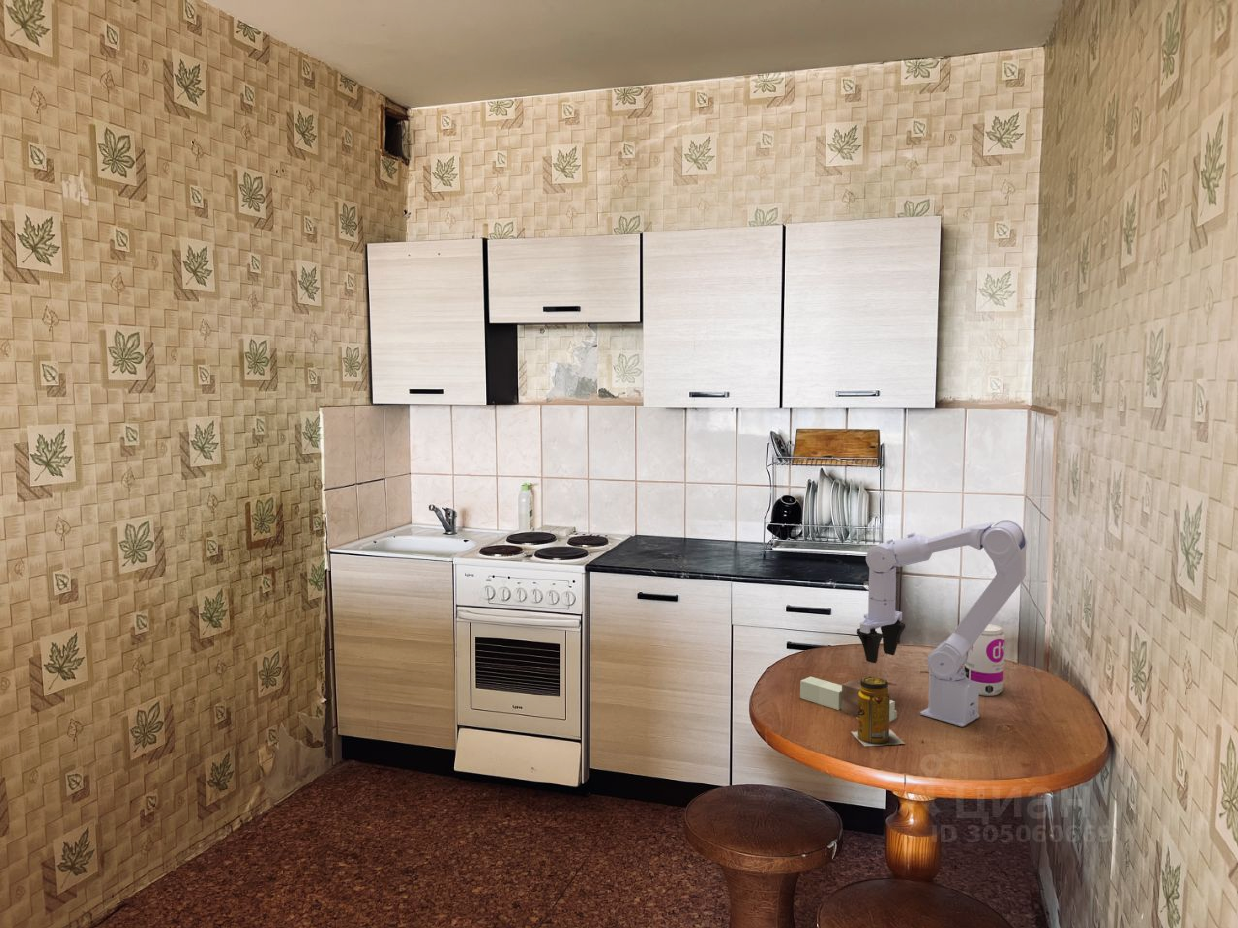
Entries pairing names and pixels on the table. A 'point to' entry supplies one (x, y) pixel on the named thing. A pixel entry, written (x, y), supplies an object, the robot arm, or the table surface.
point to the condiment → (874, 714)
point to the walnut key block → (850, 697)
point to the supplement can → (987, 661)
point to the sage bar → (829, 694)
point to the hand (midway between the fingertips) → (880, 657)
